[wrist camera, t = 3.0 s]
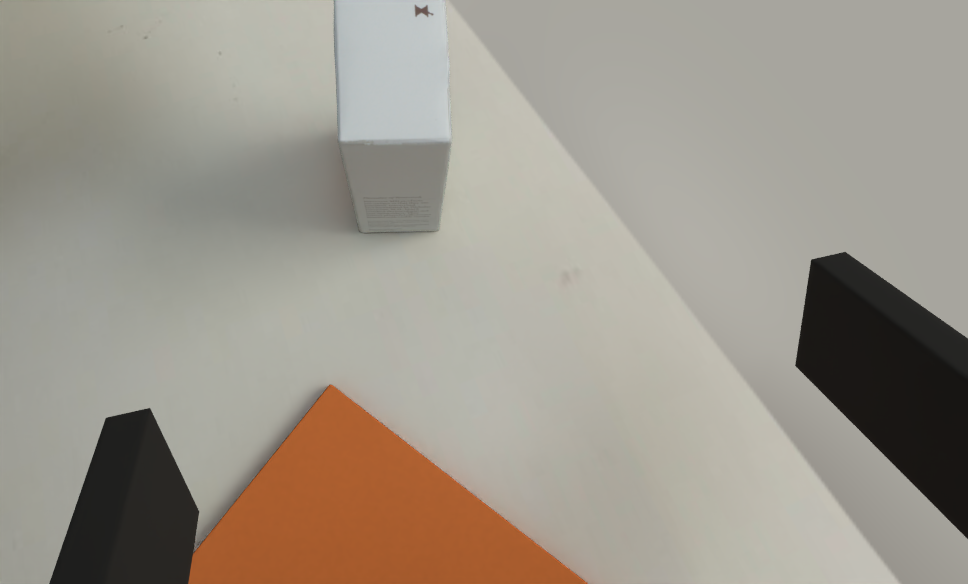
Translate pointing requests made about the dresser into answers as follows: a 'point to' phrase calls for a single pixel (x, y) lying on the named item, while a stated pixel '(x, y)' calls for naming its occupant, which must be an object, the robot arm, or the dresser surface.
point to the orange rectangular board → (363, 516)
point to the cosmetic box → (393, 110)
